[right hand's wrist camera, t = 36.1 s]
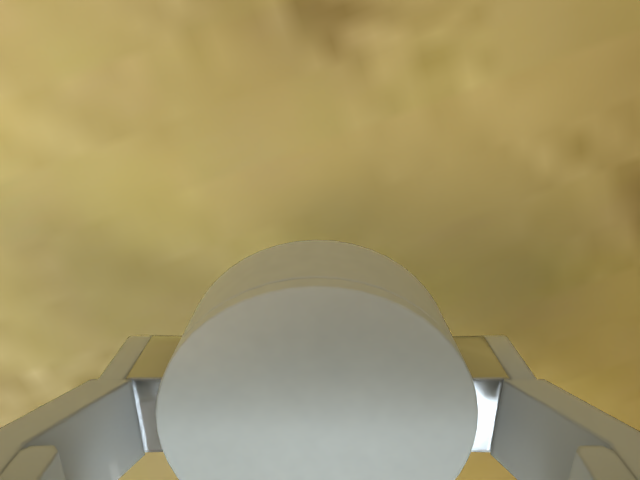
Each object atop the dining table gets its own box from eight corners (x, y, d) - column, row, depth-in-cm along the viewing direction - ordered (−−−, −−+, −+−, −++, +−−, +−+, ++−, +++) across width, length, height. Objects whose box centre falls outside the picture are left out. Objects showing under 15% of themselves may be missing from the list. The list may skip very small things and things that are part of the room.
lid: (314, 179, 9) (313, 213, 7) (500, 357, 10) (545, 428, 8) (134, 361, 10) (89, 433, 8) (320, 493, 12) (320, 581, 10)
